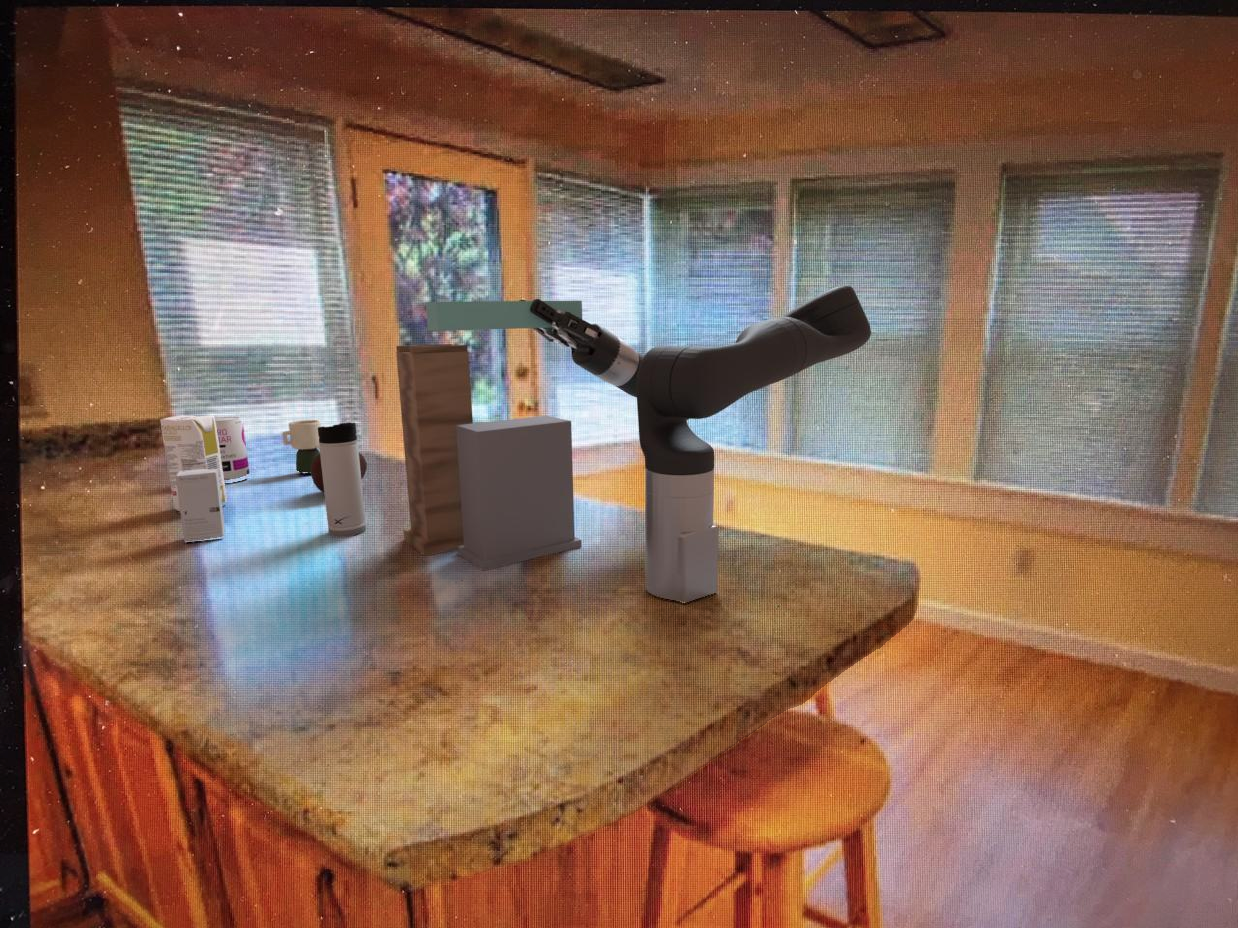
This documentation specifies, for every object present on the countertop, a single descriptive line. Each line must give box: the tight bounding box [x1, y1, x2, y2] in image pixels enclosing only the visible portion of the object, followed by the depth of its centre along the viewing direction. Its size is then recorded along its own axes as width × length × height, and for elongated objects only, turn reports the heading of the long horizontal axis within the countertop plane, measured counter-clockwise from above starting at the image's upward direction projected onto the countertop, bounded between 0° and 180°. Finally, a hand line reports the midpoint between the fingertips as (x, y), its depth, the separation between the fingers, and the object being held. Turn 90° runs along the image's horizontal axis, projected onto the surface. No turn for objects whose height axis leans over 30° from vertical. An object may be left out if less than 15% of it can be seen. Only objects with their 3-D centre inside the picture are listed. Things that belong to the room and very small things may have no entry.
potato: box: [310, 452, 368, 494], centre depth 147 cm, size 11×13×10 cm
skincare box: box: [176, 468, 226, 542], centre depth 117 cm, size 6×4×12 cm
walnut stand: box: [395, 343, 474, 557], centre depth 111 cm, size 10×11×33 cm
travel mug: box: [318, 422, 367, 538], centre depth 119 cm, size 6×7×20 cm
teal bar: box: [425, 300, 583, 332], centre depth 101 cm, size 4×24×4 cm, turn 126°
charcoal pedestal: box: [456, 415, 582, 572], centre depth 108 cm, size 10×18×21 cm, turn 126°
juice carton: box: [160, 414, 227, 510], centre depth 135 cm, size 8×9×19 cm
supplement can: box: [215, 416, 251, 480], centre depth 160 cm, size 8×8×15 cm
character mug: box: [282, 419, 322, 473], centre depth 167 cm, size 11×7×13 cm, turn 136°
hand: (525, 304), depth 103 cm, fingers closed on teal bar, 4 cm apart
